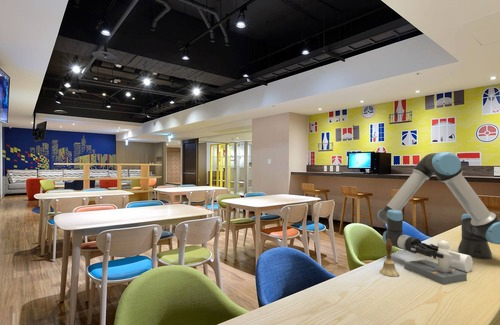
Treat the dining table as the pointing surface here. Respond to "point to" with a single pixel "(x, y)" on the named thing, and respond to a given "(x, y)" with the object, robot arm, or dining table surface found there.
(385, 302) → the dining table surface
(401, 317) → the dining table surface
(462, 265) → the mug
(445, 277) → the console
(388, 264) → the hand bell
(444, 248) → the lever
